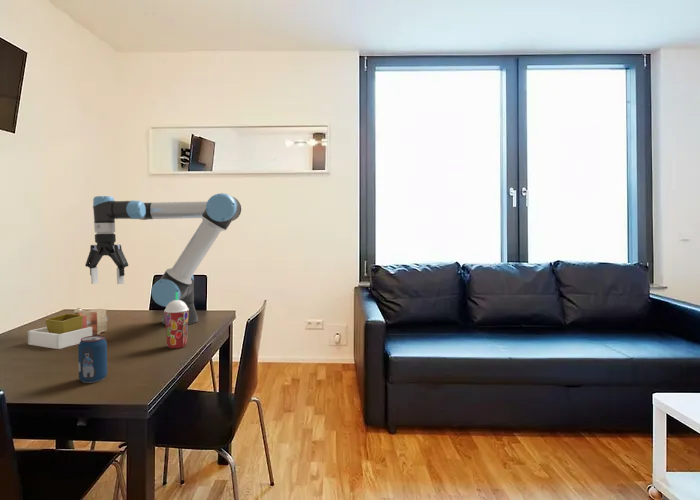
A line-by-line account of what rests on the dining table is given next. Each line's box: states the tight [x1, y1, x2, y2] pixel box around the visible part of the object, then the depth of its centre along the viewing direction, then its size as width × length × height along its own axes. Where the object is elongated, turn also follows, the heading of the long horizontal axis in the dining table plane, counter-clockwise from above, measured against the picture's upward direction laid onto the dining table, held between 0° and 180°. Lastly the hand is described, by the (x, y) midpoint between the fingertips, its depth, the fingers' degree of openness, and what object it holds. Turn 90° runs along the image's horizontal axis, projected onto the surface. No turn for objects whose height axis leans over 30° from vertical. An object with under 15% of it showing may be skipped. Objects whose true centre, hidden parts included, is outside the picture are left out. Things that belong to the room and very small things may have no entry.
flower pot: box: [44, 313, 83, 334], centre depth 157 cm, size 9×9×9 cm
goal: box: [27, 326, 93, 350], centre depth 155 cm, size 16×13×5 cm
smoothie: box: [163, 292, 189, 349], centre depth 151 cm, size 8×8×20 cm
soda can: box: [77, 334, 108, 384], centre depth 117 cm, size 7×7×12 cm
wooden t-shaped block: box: [73, 307, 109, 336], centre depth 167 cm, size 9×13×11 cm
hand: (107, 283), depth 174 cm, fingers open, 13 cm apart
